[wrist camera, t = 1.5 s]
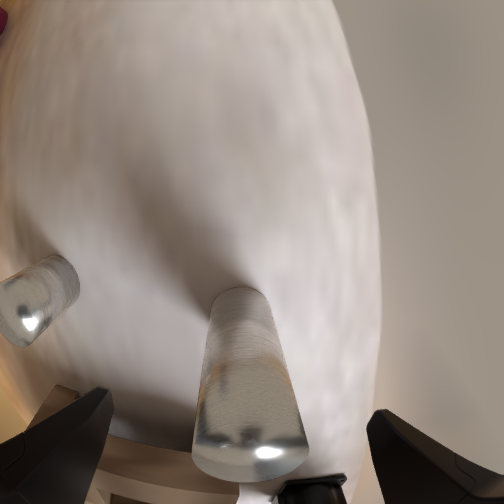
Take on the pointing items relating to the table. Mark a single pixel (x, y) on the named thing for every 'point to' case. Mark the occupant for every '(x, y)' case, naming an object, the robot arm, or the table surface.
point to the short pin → (36, 299)
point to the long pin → (246, 395)
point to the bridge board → (144, 470)
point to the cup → (2, 19)
